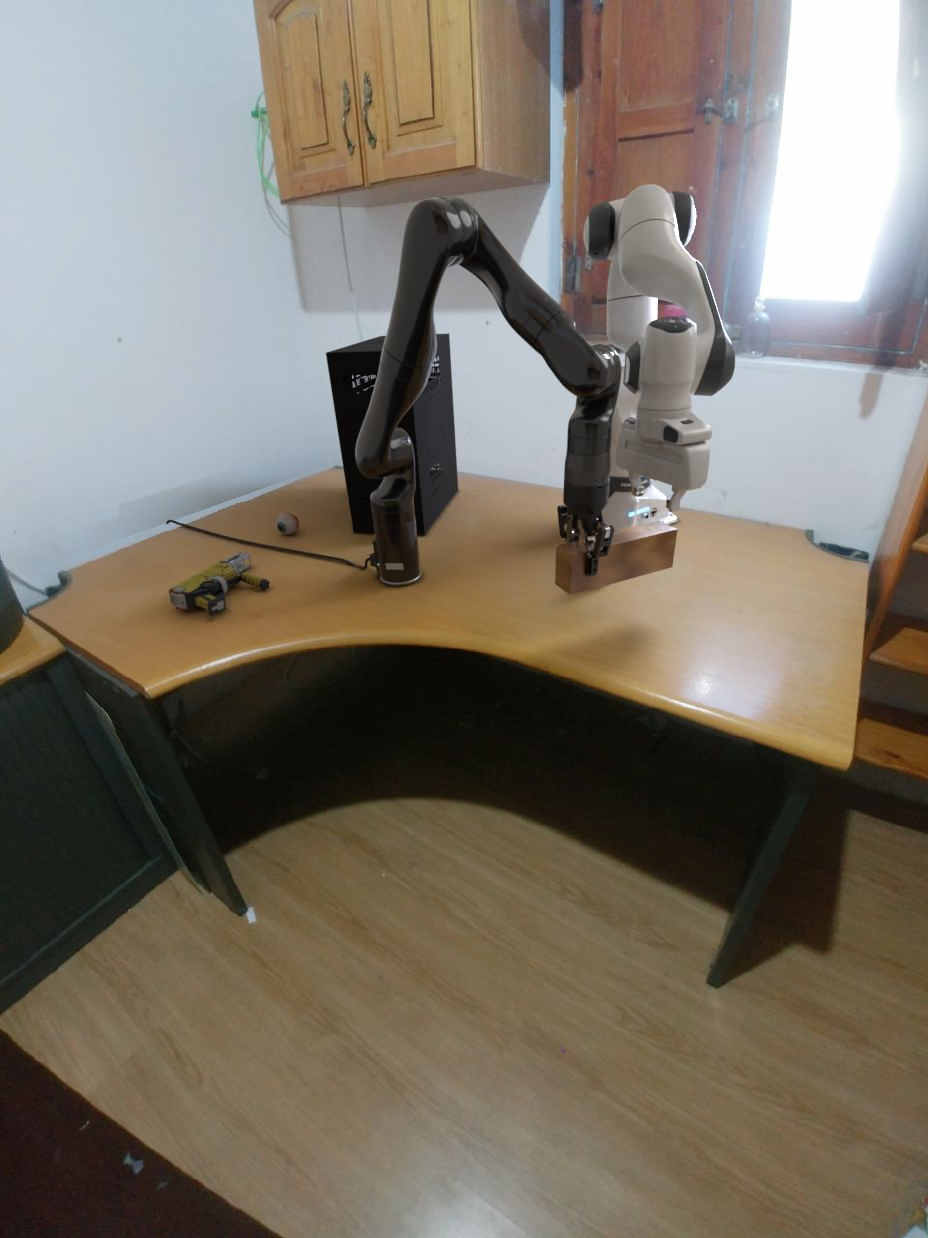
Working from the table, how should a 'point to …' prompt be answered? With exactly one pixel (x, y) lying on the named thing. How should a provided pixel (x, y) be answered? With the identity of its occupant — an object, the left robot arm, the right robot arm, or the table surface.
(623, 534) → the bar
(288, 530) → the eyeball
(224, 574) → the toy gun
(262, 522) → the table surface
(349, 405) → the cardboard box
